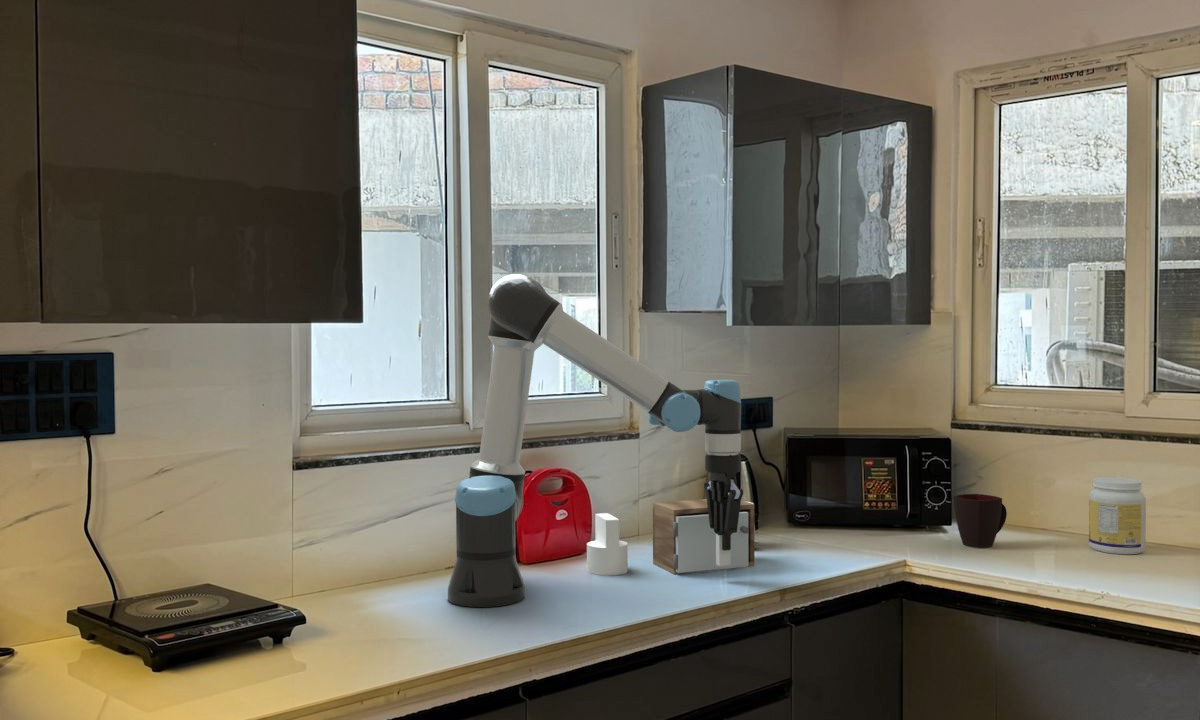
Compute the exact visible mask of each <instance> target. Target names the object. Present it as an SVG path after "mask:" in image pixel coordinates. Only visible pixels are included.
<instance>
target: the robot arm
mask: <svg viewBox="0 0 1200 720" xmlns="http://www.w3.org/2000/svg"><path fill="white" fill-rule="evenodd" d="M487 308H488V311H489V314H490V319H489V328H488V335H487V338H488V339H489V340H490V342H491V343H492V344H493V350H492V352H493V353H492V358H491V367H490V372H489V380H488V381H489V382H488V390H487V397H486V403H485V410H484V411H485V412H484V416H483V417H484V418H483V419H484V420H483V426H482V433H481V441H480V447H479V448H480V449H479V455H478V458H477V459H476V460H475V461H473V462H472V463H471V464H470V467H469V468H470V469H469V476H468V478H465V479H463V480H461V481H460V482H459V483H458V484H457V485H456V490H455V493H456V494H455V496H454V501H455V510H456V511H455V515H456V517H455V521H456V523H455V527H456V530H455V533H456V534H455V536H456V537H455V539H456V541H455V543H456V544H455V545H456V547H455V548H456V561H455V564H454V566H453V570H452V573H451V576H450V580H449V583H448V587H447V601H448V602H450V603H452V604H454V605H457V606H461V607H471V608H472V607H473V608H474V607H475V608H492V607H500V606H501V607H503V606H506V605H507V606H508V605H512V604H515V603H518V602H520V601H523V599H525V596H526V595H525V592H526V591H525V589H526V588H525V582H524V580H523V577H522V574H521V571H520V568H519V564H518V562H517V558H516V521H517V520H518V518H519V517H520V515H521V513H522V509H523V506H524V496H523V495H524V494H523V493H524V492H523V491H524V485H525V484H524V483H525V477H526V470H525V469H524V468H523V467H522V465H521V463H520V461H521V453H522V446H523V439H524V430H525V423H526V417H527V411H528V402H529V394H530V393H529V392H530V387H531V379H532V371H533V364H534V356H535V352H536V350H538V349H539V348H540V347H541V346H543V345H544V346H545V347H548V348H549V349H551V350H552V351H554V352H555V353H556V354H558V355H560V357H561V356H562V357H563V358H564V359H566V360H567V361H569V362H571V364H573V365H574V366H576V367H578V368H579V369H581V370H582V371H584V372H585V373H587V374H588V375H590V376H591V377H593V378H594V379H596V380H598V381H599V382H601V383H602V384H604V385H606V386H607V387H608V388H610V389H612V390H613V391H615V393H617V394H619V395H620V396H622V397H623V398H625V399H626V400H628V401H629V402H631V403H632V404H634V405H635V406H637V407H638V408H640V409H642V410H643V411H645V412H646V413H648V416H647V417H648V421H649V424H650V425H652V426H661V427H665V426H666V427H667V428H668V429H670V430H672V431H673V432H676V433H683V432H687V431H690V430H692V429H694V428H695V426H704V428H705V429H704V450H705V452H707V453H706V454H705V455H704V470H705V471H706V472H707V473H710V476H709V482H704V483H703V487H704V488H703V489H704V492H705V495H706V499H707V505H708V514H709V523H710V528H711V529H712V528H713V529H714V532H715V533H716V565H718V566H724V565H731V534H732V533H736V532H737V527H738V519H739V511H740V503H741V500H742V498H743V495H744V490H743V489H742V488H739V487H738V486H737V483H738V482H737V476H736V475H737V473H739V472H741V471H742V456H741V454H740V452H741V449H742V448H741V441H742V436H741V431H742V430H741V429H742V427H741V424H742V401H741V399H742V398H741V397H742V396H741V385H740V383H739V381H737V380H734V379H708V380H706V381H705V382H704V387H703V388H701V389H700V388H699V389H682V388H680V387H678V386H676V385H675V384H673V383H672V382H670V380H668V379H666V378H665V377H664V376H661V374H658V373H657V372H655V371H654V370H652V369H651V368H650V367H648V366H647V365H645V364H643V363H642V362H641V361H639V360H637V359H636V358H635V357H633V356H632V355H630V354H629V353H627V352H625V351H624V350H623V349H621V348H620V347H618V346H617V345H615V344H613V343H612V342H610V341H609V340H608V339H606V338H604V337H603V336H601V335H600V334H598V333H597V332H595V331H594V330H592V329H591V328H589V327H588V326H586V325H585V324H583V323H582V322H580V321H579V320H578V319H576V318H574V317H573V316H571V315H570V314H568V313H567V312H565V310H564V307H563V304H562V303H561V302H559V301H558V300H557V299H555V298H553V297H552V296H551V295H549V293H547V292H546V290H545V288H544V287H543V286H542V285H541V283H539V282H538V281H536V280H535V279H533V278H532V277H530V276H528V275H526V274H521V273H520V274H519V273H513V274H509V275H506V276H503V277H502V278H500V279H499V280H497V281H496V282H495V283H494V284H493V285H492V287H491V288H490V290H489V294H488V297H487Z"/></svg>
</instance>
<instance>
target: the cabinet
mask: <svg viewBox="0 0 1200 720" xmlns="http://www.w3.org/2000/svg"><path fill="white" fill-rule="evenodd" d="M749 502H750V501H746V502H745V501H744V500H742V499H741V503H740V511H739V512H748V528H749V532H748V567H747V568H750V567H751V568H753V567H755V565H756V564H755V562H756V561H755V557H756V556H755V551H756V550H755V548H756V547H755V542H756V541H755V536H754V524H755V503H753V502H751V503H749ZM752 503H753V504H752ZM707 514H708V505H707V498H702V499H687V500H673V501H657V502H655V501H654V502H652V565H654V566H656V567H658V568H660V569H662V570H665V571H667V572H668V573H670V574H672V575H680V574H681V575H682V574H691V573H703V572H710V571H711V572H712V571H714V570H705V571H694V572H683V573H677V572H676V569H674V568H673V554H676V537H675V536H673V522H676V517H678V516H692V515H707ZM742 568H744V567H739V568H738V569H742ZM733 569H734V568H728V569H727V570H733ZM721 570H722V571H723V570H724V569H717V570H716V571H721Z"/></svg>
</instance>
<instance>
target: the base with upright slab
mask: <svg viewBox="0 0 1200 720" xmlns="http://www.w3.org/2000/svg"><path fill="white" fill-rule="evenodd" d="M594 515H595V517H594V518H595V519H594V520H595V525H594V528H595V530H594V531H595V535H594V537H595V539H594V540H591V541H589V542H587V543H586V571H587V573H589V574H590V575H596V576H617V575H624V574H626V573H628V571H629V569H628V568H629V567H628V562H629V561H628V557H629V555H628V553H629V552H628V551H629V549H628V546H629V545H628V542H627V541H624V540H620V519H619V518H617V517H615V516H614V515H612V514H610V513H609V512H602V513H601V512H600V513H595V514H594Z"/></svg>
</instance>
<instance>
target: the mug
mask: <svg viewBox="0 0 1200 720" xmlns="http://www.w3.org/2000/svg"><path fill="white" fill-rule="evenodd" d="M953 506H954V508H953V509H954V515H955V520H956V524H957V530H958V533H959V536H960V539H961V542H962V545H963V546H965V547H969V548H974V549H975V548H976V549H988V548H992V547H993V545H994V544H995V540H996V538H997V535H998V534H999V532H1000V531H1001V530H1002V528H1003V527H1004V525H1005V522H1006V520H1007V515H1008V513H1007V508H1006V506H1005V505H1004V503H1003V498H1002V497H999V496H997V495H996V496H995V495H988V494H981V493H967V494H965V493H964V494H956V495H954V496H953Z"/></svg>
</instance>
